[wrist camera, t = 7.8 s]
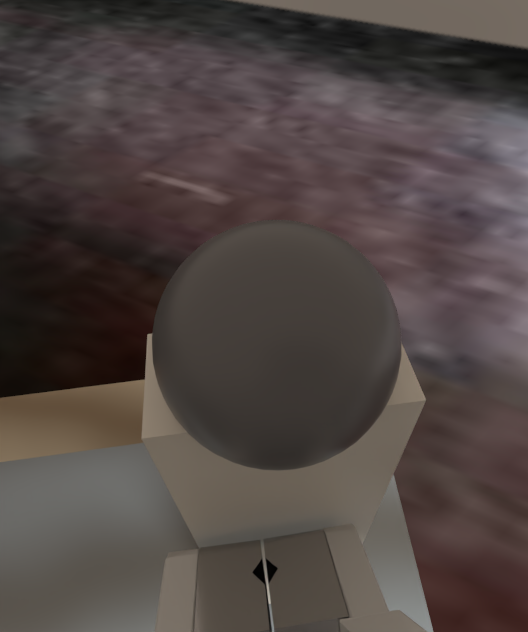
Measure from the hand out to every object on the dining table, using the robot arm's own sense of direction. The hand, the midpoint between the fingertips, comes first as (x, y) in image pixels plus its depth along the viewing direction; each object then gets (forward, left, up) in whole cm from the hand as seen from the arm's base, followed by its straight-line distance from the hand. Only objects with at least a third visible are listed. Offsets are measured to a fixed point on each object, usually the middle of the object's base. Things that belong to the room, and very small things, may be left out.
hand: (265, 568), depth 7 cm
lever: (0, -1, -7) cm, 7 cm away
